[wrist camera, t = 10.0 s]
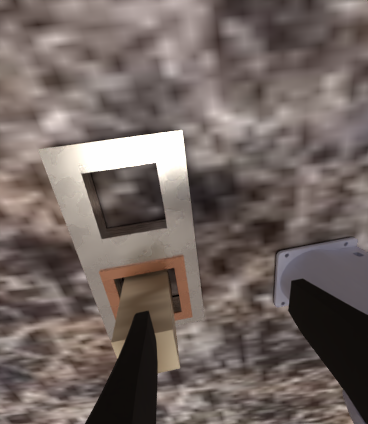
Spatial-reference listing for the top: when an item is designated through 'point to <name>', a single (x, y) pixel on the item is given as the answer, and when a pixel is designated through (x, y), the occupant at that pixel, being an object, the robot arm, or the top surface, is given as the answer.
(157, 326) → the peg
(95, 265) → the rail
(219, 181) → the top surface
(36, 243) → the top surface
